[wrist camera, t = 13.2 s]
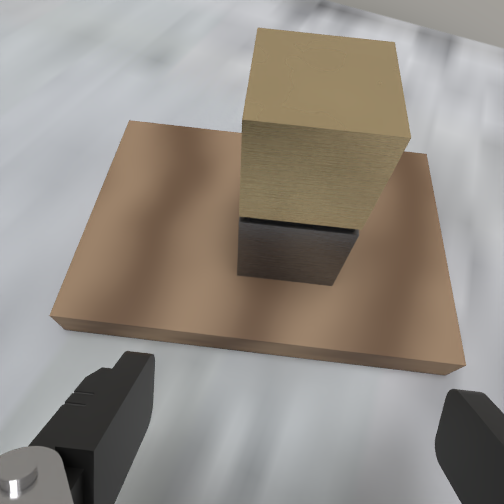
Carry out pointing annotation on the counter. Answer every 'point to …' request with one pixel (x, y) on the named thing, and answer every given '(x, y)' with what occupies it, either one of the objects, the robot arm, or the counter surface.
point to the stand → (250, 288)
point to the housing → (315, 150)
